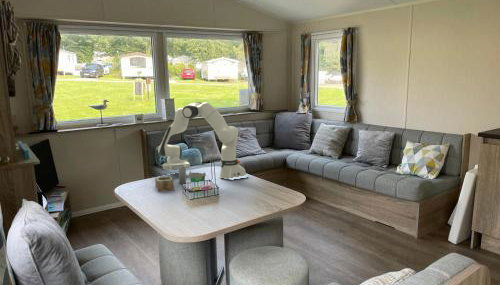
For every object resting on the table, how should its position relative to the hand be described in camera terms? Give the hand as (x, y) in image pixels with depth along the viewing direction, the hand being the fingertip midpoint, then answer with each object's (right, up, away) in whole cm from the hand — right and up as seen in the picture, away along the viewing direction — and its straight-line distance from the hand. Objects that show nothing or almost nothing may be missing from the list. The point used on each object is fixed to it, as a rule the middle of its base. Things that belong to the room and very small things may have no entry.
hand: (178, 168), depth 277 cm
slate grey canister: (+5, -10, -11) cm, 15 cm away
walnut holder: (-5, -12, -22) cm, 26 cm away
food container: (+16, -12, -19) cm, 27 cm away
